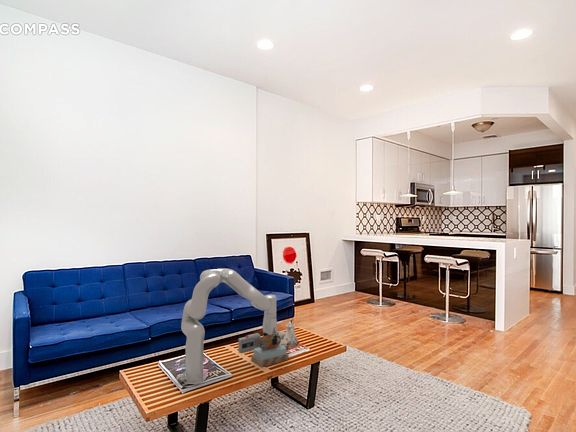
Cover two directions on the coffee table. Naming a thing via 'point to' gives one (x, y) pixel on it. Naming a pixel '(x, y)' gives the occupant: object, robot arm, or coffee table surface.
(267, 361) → the tower base
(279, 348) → the blue-grey rectangular block
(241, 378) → the coffee table surface
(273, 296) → the robot arm
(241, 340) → the cassette player
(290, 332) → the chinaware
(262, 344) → the brown rounded slab
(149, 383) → the coffee table surface
